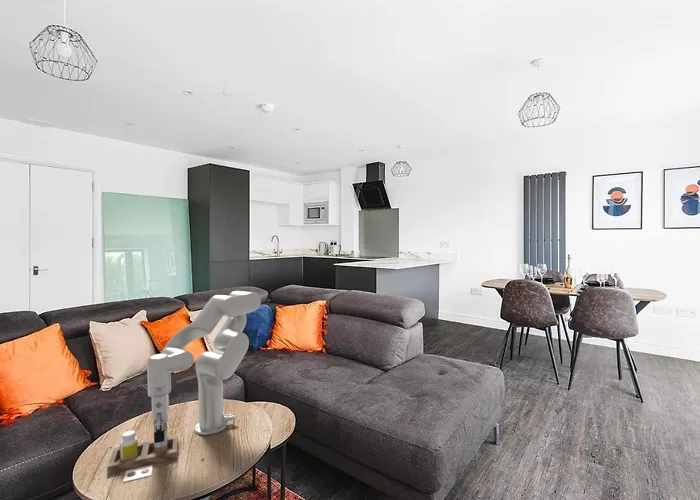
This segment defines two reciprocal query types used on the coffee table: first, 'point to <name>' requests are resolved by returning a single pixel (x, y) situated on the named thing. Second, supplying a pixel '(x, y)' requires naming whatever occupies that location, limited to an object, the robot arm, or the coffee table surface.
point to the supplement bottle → (128, 446)
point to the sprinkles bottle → (161, 445)
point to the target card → (138, 473)
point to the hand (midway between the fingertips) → (160, 435)
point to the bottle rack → (143, 456)
